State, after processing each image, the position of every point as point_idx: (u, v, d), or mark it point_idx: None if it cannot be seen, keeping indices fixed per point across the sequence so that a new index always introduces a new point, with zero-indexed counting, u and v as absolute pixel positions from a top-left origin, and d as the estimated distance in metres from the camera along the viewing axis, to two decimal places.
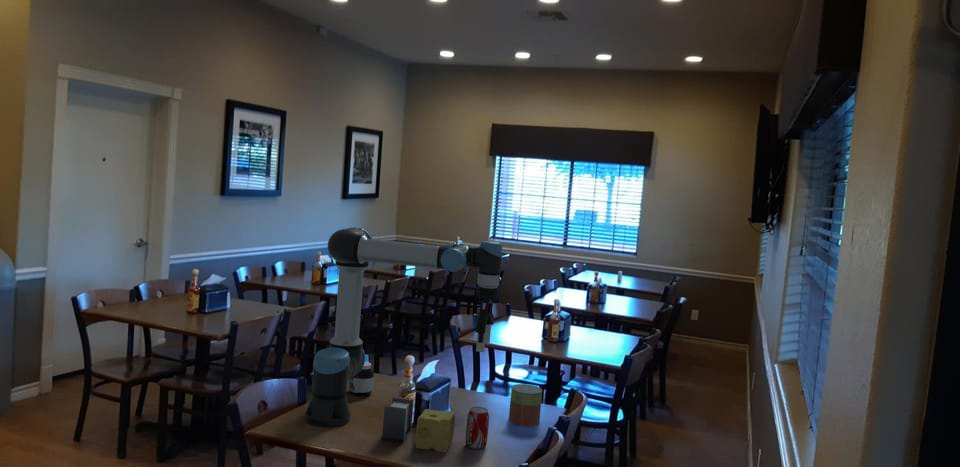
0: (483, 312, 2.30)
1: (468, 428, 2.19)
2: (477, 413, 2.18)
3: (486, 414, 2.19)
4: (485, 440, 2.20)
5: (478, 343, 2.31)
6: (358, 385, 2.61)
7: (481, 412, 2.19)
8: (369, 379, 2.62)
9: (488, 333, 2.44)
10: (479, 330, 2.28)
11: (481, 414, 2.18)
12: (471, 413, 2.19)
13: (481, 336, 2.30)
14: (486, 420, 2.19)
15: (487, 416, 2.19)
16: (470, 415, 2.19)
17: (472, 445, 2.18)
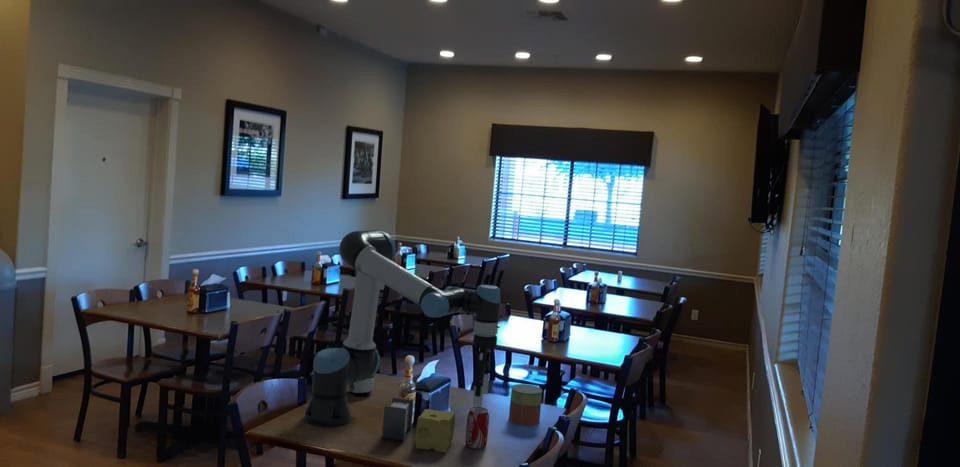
0: (480, 363, 2.12)
1: (468, 428, 2.19)
2: (477, 413, 2.18)
3: (486, 414, 2.19)
4: (485, 440, 2.20)
5: (475, 397, 2.13)
6: (358, 385, 2.61)
7: (481, 412, 2.19)
8: (369, 379, 2.62)
9: (486, 383, 2.27)
10: (476, 383, 2.10)
11: (481, 414, 2.18)
12: (471, 413, 2.19)
13: (478, 390, 2.12)
14: (486, 420, 2.19)
15: (487, 416, 2.19)
16: (470, 415, 2.19)
17: (472, 445, 2.18)
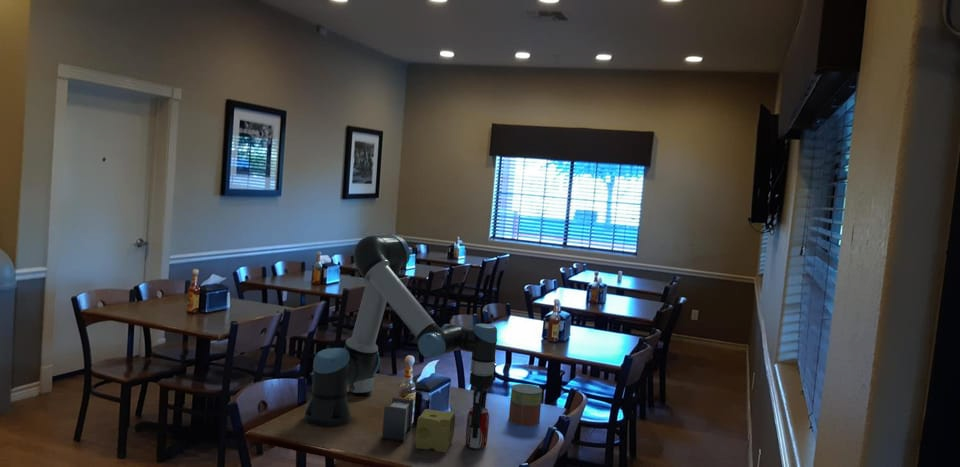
0: (476, 406, 2.14)
1: (468, 428, 2.19)
2: None
3: (486, 414, 2.19)
4: (485, 440, 2.20)
5: (472, 438, 2.17)
6: (358, 385, 2.61)
7: (481, 412, 2.19)
8: (369, 378, 2.62)
9: None
10: (473, 426, 2.14)
11: (481, 414, 2.18)
12: (471, 413, 2.19)
13: (475, 431, 2.16)
14: (486, 420, 2.19)
15: (487, 416, 2.19)
16: (470, 415, 2.19)
17: None
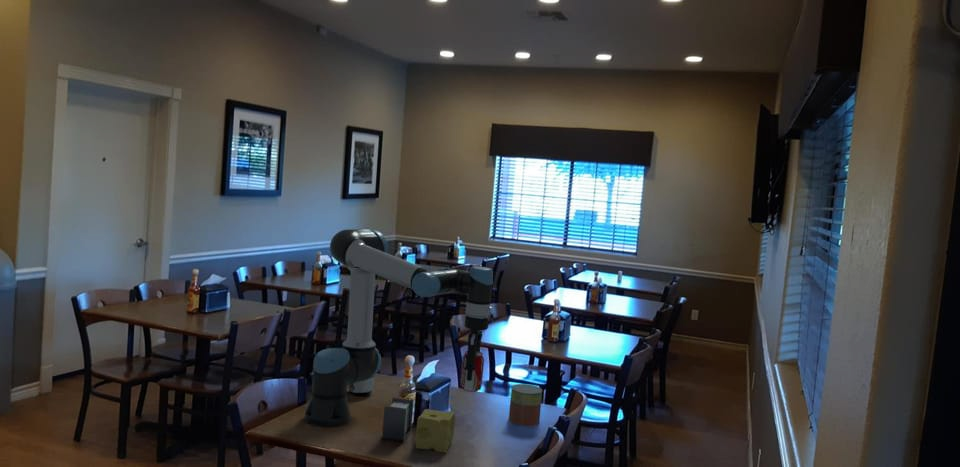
0: (471, 348, 2.13)
1: (463, 371, 2.18)
2: None
3: (481, 357, 2.18)
4: (480, 383, 2.18)
5: (466, 381, 2.16)
6: (358, 385, 2.61)
7: (476, 355, 2.18)
8: (369, 379, 2.62)
9: None
10: (468, 368, 2.13)
11: (476, 357, 2.17)
12: (466, 356, 2.18)
13: (470, 374, 2.14)
14: (481, 363, 2.17)
15: (482, 359, 2.18)
16: (465, 358, 2.17)
17: None
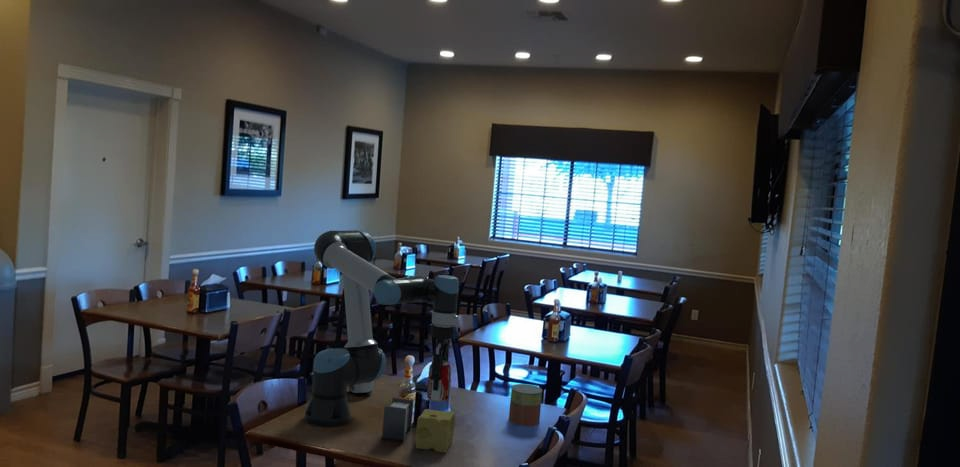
0: (437, 358, 2.11)
1: (429, 381, 2.16)
2: None
3: (448, 366, 2.16)
4: (447, 393, 2.16)
5: (433, 391, 2.14)
6: (358, 385, 2.61)
7: (443, 364, 2.16)
8: None
9: None
10: (433, 377, 2.11)
11: (442, 366, 2.15)
12: None
13: (436, 383, 2.13)
14: (448, 372, 2.16)
15: (449, 368, 2.16)
16: (431, 367, 2.16)
17: None
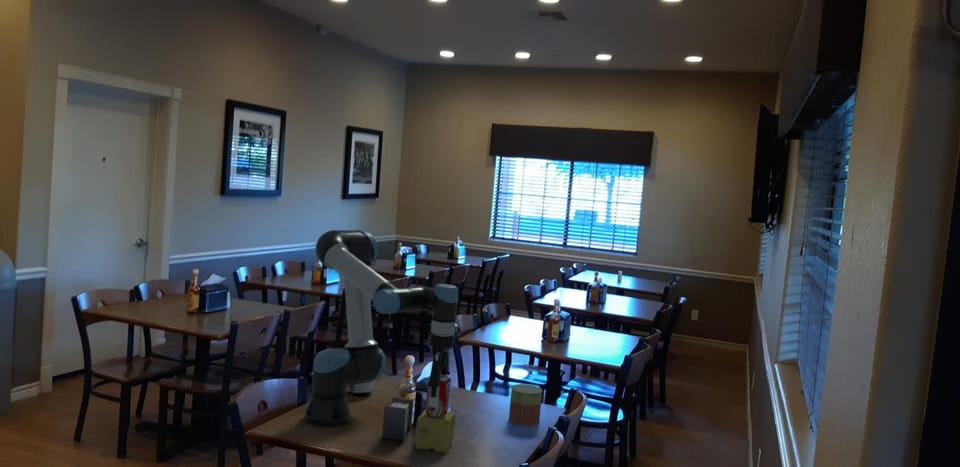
0: (436, 364, 2.10)
1: (428, 396, 2.16)
2: None
3: (446, 382, 2.17)
4: (445, 408, 2.17)
5: (431, 397, 2.12)
6: (358, 385, 2.61)
7: (441, 380, 2.16)
8: None
9: None
10: (431, 384, 2.09)
11: (441, 382, 2.15)
12: None
13: (434, 390, 2.10)
14: (446, 388, 2.16)
15: (447, 384, 2.17)
16: None
17: (432, 413, 2.16)
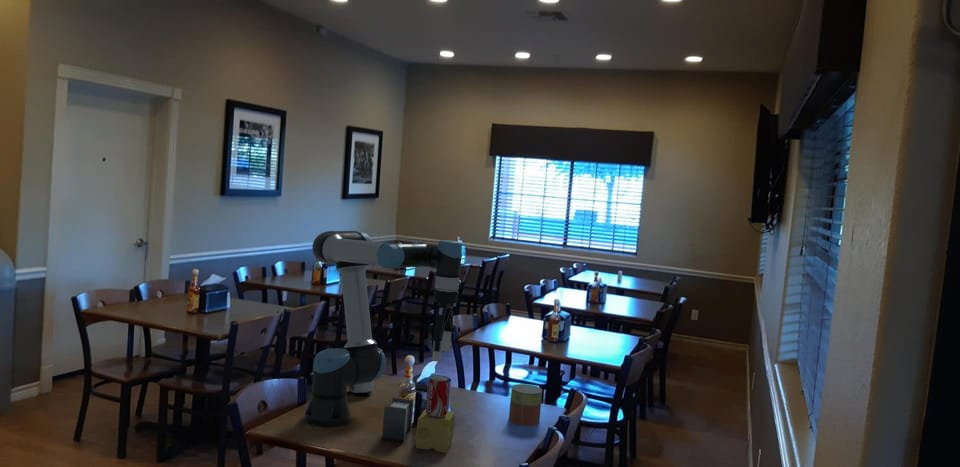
0: (440, 318, 2.10)
1: (428, 396, 2.16)
2: (436, 380, 2.15)
3: (446, 382, 2.16)
4: (445, 408, 2.17)
5: (434, 352, 2.11)
6: (358, 385, 2.61)
7: (441, 380, 2.16)
8: None
9: (448, 340, 2.24)
10: (435, 338, 2.07)
11: (441, 382, 2.15)
12: (431, 381, 2.16)
13: (437, 344, 2.09)
14: (446, 388, 2.16)
15: (447, 384, 2.16)
16: (430, 383, 2.16)
17: (432, 413, 2.16)
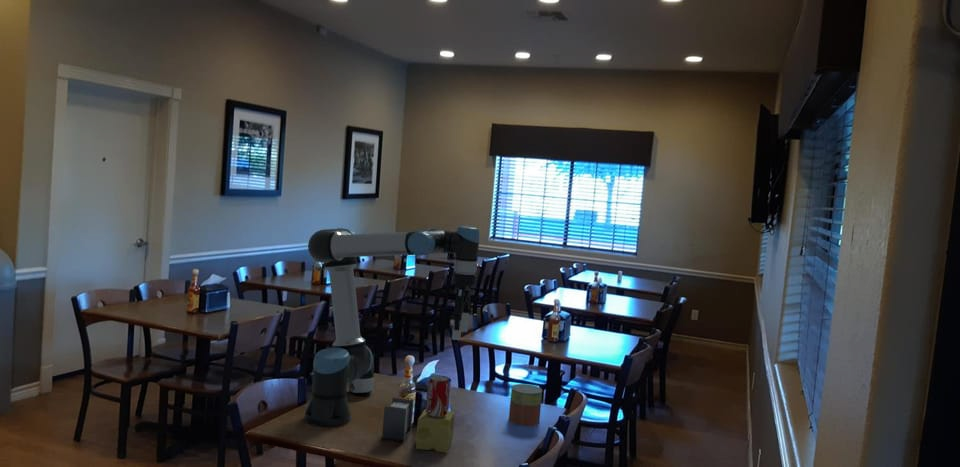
0: (459, 299, 2.23)
1: (428, 396, 2.17)
2: (436, 380, 2.16)
3: (446, 382, 2.16)
4: (445, 408, 2.16)
5: (454, 331, 2.25)
6: (358, 385, 2.61)
7: (441, 380, 2.16)
8: (369, 378, 2.62)
9: (466, 321, 2.38)
10: (455, 317, 2.21)
11: (440, 382, 2.15)
12: (431, 381, 2.16)
13: (457, 323, 2.23)
14: (446, 388, 2.16)
15: (447, 384, 2.16)
16: (430, 383, 2.16)
17: (431, 413, 2.16)
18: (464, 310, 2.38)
